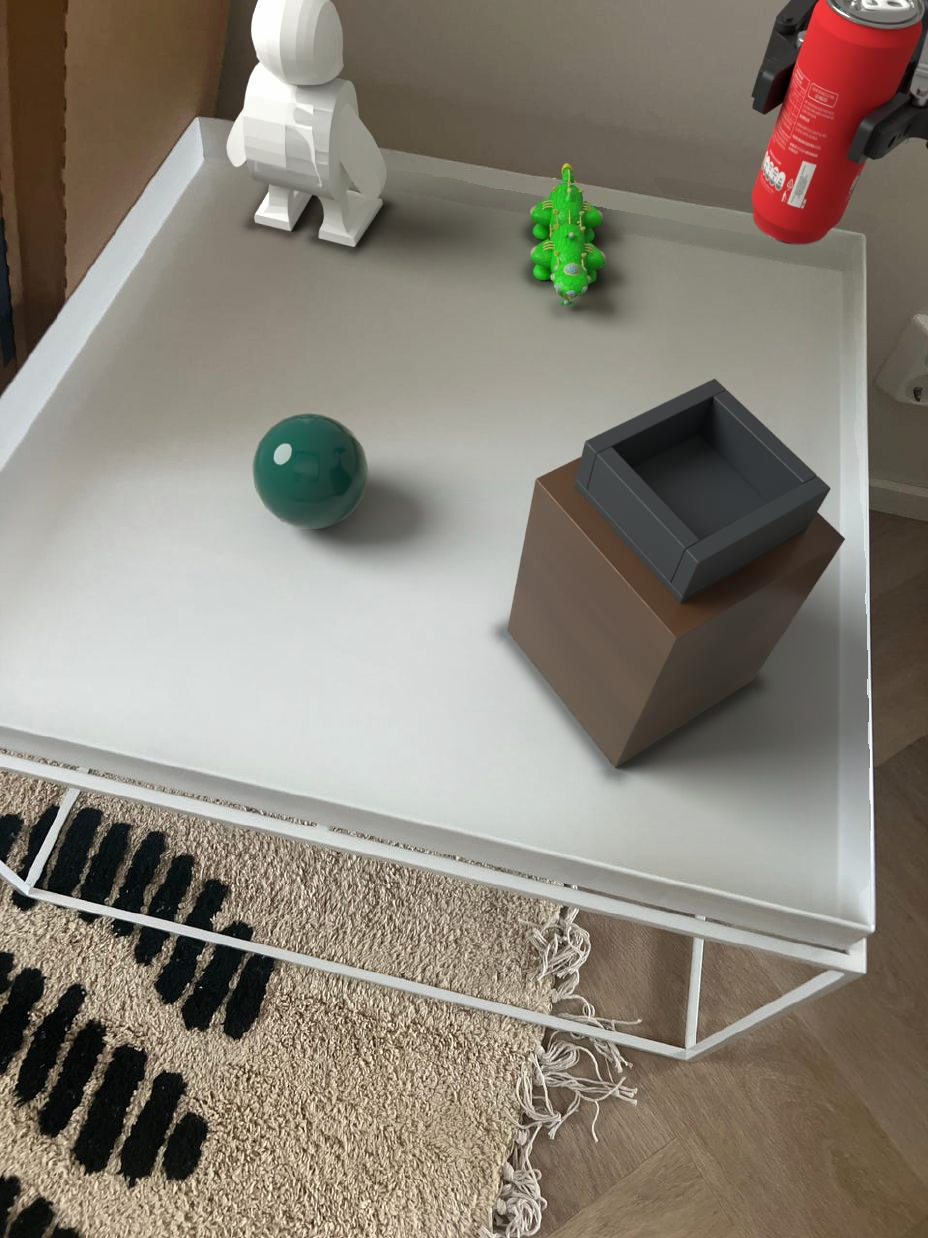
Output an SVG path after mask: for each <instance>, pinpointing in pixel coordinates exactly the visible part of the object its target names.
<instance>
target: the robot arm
mask: <svg viewBox="0 0 928 1238" xmlns="http://www.w3.org/2000/svg"><path fill="white" fill-rule="evenodd" d="M818 1H819V0H789V1H788V3H787V4H786V5H785V6H784V7H783V8H782V9H781V11H779V13H778V14H777V15H776V17H775V20H774V23H773V27H772V31H771V33H770V36H769V39H768V43H767V45H766V49H765V52H764V56H763V59H762V63H761V64H760V66H759V69H758V72H757V76H756V79H755V83H754V85H753V89H752V92H751V95H750V97H751V98H753V101H752V106H751V108H752V110H754V111H756V112H758V113H760V114H762V115H763V116H765V115H767V114H769V113H770V112H771V111H773V110H775V109H776V108H777V107H779V106H780V105H782V103H783V100H784V97H785V94H786V91H787V88H788V85H789V82H790V79H791V76H792V73H793V70H794V67H795V64H796V61H797V58H798V55H799V52H800V49H801V46H802V43H803V40H804V37H805V34H806V31H807V28H808V25H809V23H810V20H811V17H812V14H813V11H814V8H815V5H816V4H817V2H818ZM922 1H923V3H924V7H925V12H924V15H923V17H922V19H921V21H922V32H921V35H920V38H919V40H918V42H917V45H916V47H915V49H914V52H913V54H912V56H911V59H910V61H909V63H908V65H907V68H906V70H905V72H904V75H903V77H902V79H901V82H900V84H899V86H898V89H897V91H896V93H895V95H894V96H893V97H892V98H891V99H890V100H889V101H887V102H885V103H884V104H882V105H881V106H880V107H878V108H877V109H876V110H874V111H873V112H872V113H870V114H869V115H868V116H866V117H865V118H864V119H863V121H862V122H861V124H860V125H859V127H858V130H857V132H856V134H855V137H854V139H853V142H852V144H851V146H850V149H849V151H848V154H847V159H849V160H851V161H853V162H855V163H857V164H859V165H860V164H861V163H863V162H864V161H865V160H866V159H867V160H868V159H871V160H873V161H875V160H876V161H877V160H880V159H883V158H884V157H885V156H887V155H888V154H890V152H892V151H893V150H895V148H896V147H898V146H899V145H901V144H903V145H905V144H910V143H912V142H913V140H914V139H921V140H925V141H926V143H925V148H926V149H927V150H928V0H922ZM867 160H866V161H867Z"/></svg>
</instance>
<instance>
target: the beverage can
mask: <svg viewBox="0 0 928 1238" xmlns="http://www.w3.org/2000/svg"><path fill="white" fill-rule="evenodd" d="M924 12H925V7H924V3H923V1H922V0H819V1H818V2H817V4H816V5H815V8H814V11H813V14H812V17H811V20H810V23H809V25H808V28H807V31H806V34H805V37H804V40H803V43H802V46H801V49H800V52H799V55H798V58H797V61H796V64H795V67H794V70H793V73H792V76H791V79H790V82H789V85H788V88H787V91H786V94H785V97H784V100H783V103H782V104H781V107H780V109H779V113H778V115H777V118H776V121H775V124H774V127H773V130H772V132H771V136H770V139H769V142H768V145H767V148H766V151H765V154H764V156H763V159H762V162H761V166H760V169H759V172H758V175H757V177H756V181H755V184H754V187H753V189H752V194H751V201H752V206H753V212H752V218H753V222H754V224H755V225H756V227H757V228H758V229H759V231H761V232H762V233H763V234H764V235H765V236H767V237H769V238H771V239H773V241H777V242H779V243H783V244H786V245H794V246H809V245H812V244H816V243H818V242H820V241H822V240H823V239H824V238H825V237H826V236H827V235H828V233H829V232H830V231H831V230H832V229H833V228H834V227H836V226H837V225H838V224H839V223H840V222H841V220H842V218H843V216H844V214H845V211H846V210H847V207H848V204H849V202H850V200H851V197H852V195H853V193H854V190H855V188H856V187H857V186H856V185H857V183H858V181H859V179H860V176H861V175H862V172H863V170H864V167H865V165H866V163H867V160H868V159H866V160H865V161H864V162H863V163H861V164H860V165H859V164H857V163H855V162H853V161H851V160H849V159H847V154H848V151H849V149H850V146H851V144H852V142H853V139H854V137H855V134H856V132H857V130H858V127H859V125H860V124H861V122H862V121H863V119H864V118H865V117H866V116H868V115H869V114H870V113H872V112H873V111H874V110H876V109H877V108H878V107H880V106H881V105H882V104H884V103H885V102H887V101H889V100H890V99H891V98H892V97H893V96H894V95H895V93H896V91H897V89H898V86H899V84H900V82H901V79H902V77H903V75H904V72H905V70H906V68H907V65H908V63H909V61H910V59H911V56H912V54H913V52H914V49H915V47H916V45H917V42H918V40H919V38H920V35H921V32H922V21H921V19H922V17H923V15H924Z"/></svg>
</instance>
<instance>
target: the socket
mask: <svg viewBox="0 0 928 1238" xmlns="http://www.w3.org/2000/svg"><path fill="white" fill-rule="evenodd" d="M580 457H581V460H580V464H579V468H578V473H577V477H576V480H575V484H574V486H575V487H576V489H577V490H578V491H579V492H580V493H581V494H582V495H583V496H584V497H585V499H586V500H587V501H588V502H589V503H590V504H591V505H592V506H593V507H594V509H595V510H596V511H597V512H598V513H599V514H600V515H601V516H602V517H603V519H604V520H605V521H606V522H607V523H608V524H609V525H610V526H611V527H612V529H613V530H614V531H615V532H616V533H617V534H618V535H619V536H620V537H621V539H622V540H623V541H624V542H625V543H626V544H627V545H628V546H629V548H630V549H631V550H632V551H633V552H634V553H635V554H636V555H637V556H638V558H639V559H640V560H641V561H642V562H643V563H644V564H645V565H646V566H647V568H648V569H649V570H650V571H651V572H652V573H653V574H654V575H655V576H656V578H657V579H658V580H659V581H660V582H661V583H662V584H663V585H664V586H665V588H666V589H667V590H668V591H669V592H670V593H671V594H672V595H673V597H674V598H675V599H676V600H677V601H678V602H679V603H680V604H681V603H683V602H684V601H686V600H688V599H690V598H691V597H693V596H695V595H697V594H698V593H700V592H702V591H703V590H705V589H707V588H709V587H710V586H712V585H714V584H715V583H717V582H719V581H721V580H722V579H724V578H726V577H728V576H729V575H731V574H733V573H734V572H736V571H738V570H740V569H741V568H743V567H745V566H747V565H748V564H750V563H752V562H753V561H755V560H757V559H759V558H760V557H762V556H764V555H766V554H767V553H769V552H771V551H772V550H774V549H776V548H778V547H779V546H781V545H783V544H785V543H786V542H788V541H790V540H791V539H793V538H795V537H797V536H798V535H800V534H802V533H804V532H805V531H806V530H807V529H808V527H809V525H810V523H811V522H812V520H813V518H814V516H815V515H816V513H817V512H818V511H819V510H820V508H821V507H822V504H823V503H824V501H825V500H826V498H827V496H828V495H829V493H830V491H831V487H830V486H829V484H827V482H825V481H824V480H823V479H822V478H821V477H819V476H818V475H817V473H816V472H814V471H813V470H812V469H811V467H809V466H808V465H807V464H806V463H805V462H804V461H803V460H802V459H801V458H800V457H799V456H798V455H797V454H796V453H794V452H793V451H792V450H791V449H790V448H789V447H788V446H787V445H786V444H785V443H784V442H783V441H782V440H781V439H780V438H779V437H778V436H777V435H775V433H773V432H772V431H771V430H770V429H769V428H768V427H767V426H766V425H765V424H763V422H761V420H760V419H758V418H757V417H756V415H754V414H753V413H752V412H751V411H750V410H749V409H748V408H747V407H746V406H745V405H743V403H741V402H740V400H738V399H737V397H735V396H734V395H733V394H732V393H731V392H730V391H729V390H728V389H727V388H725V386H723V385H722V384H721V383H720V382H719V381H718V380H717V379H716V378H712V379H710V380H708V381H707V382H704V383H702V384H700V385H698V386H696V387H694V388H692V389H690V390H688V391H686V392H684V393H682V394H680V395H677V396H675V397H673V398H671V399H669V400H667V401H664V402H663V403H660V404H659V405H657V406H654V407H653V408H651V409H649V410H646V411H644V412H643V413H640V414H638V415H637V416H634V417H632V418H630V419H628V420H626V421H623V422H622V423H620V424H617V425H615V426H613V427H612V428H609V429H608V430H605V431H603V432H601V433H599V434H596V435H595V436H593V437H591V438H589V439H587V440H585V441H584V444H583V448H582V452H581V456H580Z"/></svg>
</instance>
